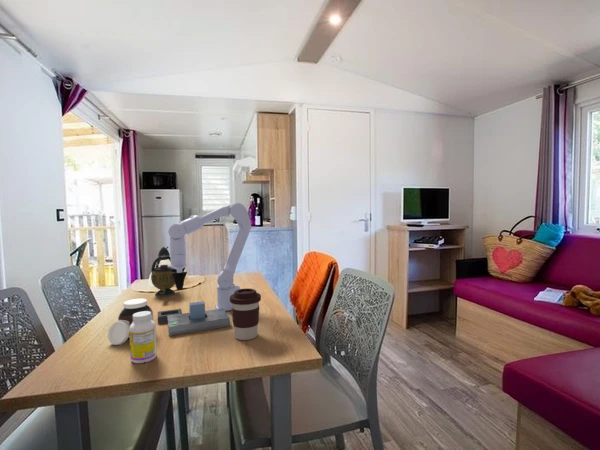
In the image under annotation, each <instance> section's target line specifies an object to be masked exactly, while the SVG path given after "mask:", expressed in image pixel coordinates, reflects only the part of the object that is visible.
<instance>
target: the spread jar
mask: <svg viewBox="0 0 600 450" xmlns="http://www.w3.org/2000/svg"><path fill="white" fill-rule="evenodd" d="M142 311H150V312H151V320H153V321H154V312H153V309H152V308H151V307H150V306H149V305H148V299H146V298H142V297H141V298H133V299H128V300H126V301H123V309H122V310H121V311H120V313H119V315H118V318H117V321H115V322H113V323H112V324H111V325H110V327H109V328H108V331H107V339H108V341H109V343H110V344H112V345H114V346H117V345H118V346H119V345H122V344H124V343H126V341H130V335H129V327H130V325H131V324H132V323H134V321H133V314H135V313H137V312H142ZM154 322H155V321H154Z"/></svg>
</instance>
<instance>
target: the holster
mask: <svg viewBox="0 0 600 450" xmlns="http://www.w3.org/2000/svg"><path fill="white" fill-rule="evenodd" d="M177 314H183V311H182V309H181V308H177V309H167V310H162V311H161V310H160V311H157V324H165V323H166V324H167V323H168V320H167V316H170V315H177Z"/></svg>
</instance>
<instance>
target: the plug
mask: <svg viewBox="0 0 600 450" xmlns="http://www.w3.org/2000/svg"><path fill="white" fill-rule="evenodd" d="M188 308H189V310H188V311H189V312H188V313H190V320H193V319H200V318H205V311H206V303H205V301H203V300H202V301H195V302H189V304H188Z"/></svg>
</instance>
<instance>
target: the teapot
mask: <svg viewBox="0 0 600 450" xmlns="http://www.w3.org/2000/svg"><path fill="white" fill-rule="evenodd" d="M168 248H169V246H166V247H165V246H163V247H161V249H160V250H159V252H158V254H157V257H156V258H155V260H154V261H153V262H152V265H151V268H150V269H151V274H150V279H151V283H152V285H153V287H154V288H156V289H158V291H157V292H156V293H155V294H154V296H155V297H157V296H158V298H159V297H160V298H166V297H170V296H174V295H175V294H176V291H175V290H173V289H172V288H173V287H174V286H176V284H175V280H174V277H173V275H172V273H171V272H172V271H171V267H168V265H169V264H161V261H167V260H169V262H170V263H171V258H170V251H169V250H168Z"/></svg>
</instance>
